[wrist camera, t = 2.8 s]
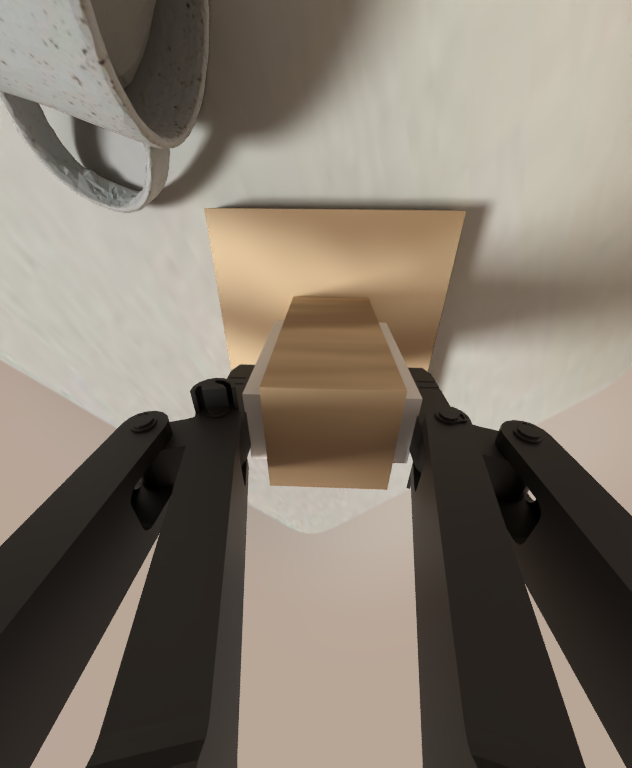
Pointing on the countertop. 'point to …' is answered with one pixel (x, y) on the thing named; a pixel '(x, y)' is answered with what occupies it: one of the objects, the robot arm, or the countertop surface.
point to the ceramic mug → (105, 80)
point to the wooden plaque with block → (332, 327)
